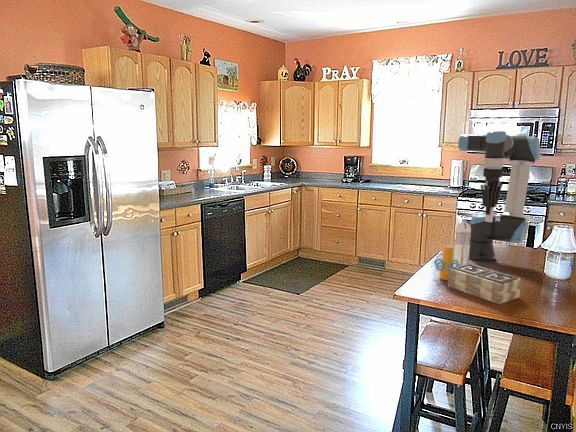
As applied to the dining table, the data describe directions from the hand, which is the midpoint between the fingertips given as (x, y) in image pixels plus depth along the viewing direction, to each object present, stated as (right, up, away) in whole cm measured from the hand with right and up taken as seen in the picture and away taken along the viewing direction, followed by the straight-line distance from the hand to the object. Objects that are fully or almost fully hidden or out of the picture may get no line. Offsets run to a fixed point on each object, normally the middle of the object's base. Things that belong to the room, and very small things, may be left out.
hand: (488, 221), depth 199 cm
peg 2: (-3, -30, -13) cm, 32 cm away
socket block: (-6, -29, -8) cm, 31 cm away
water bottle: (-4, -24, +22) cm, 33 cm away
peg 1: (-9, -28, -3) cm, 29 cm away
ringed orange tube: (-16, -26, +8) cm, 32 cm away
